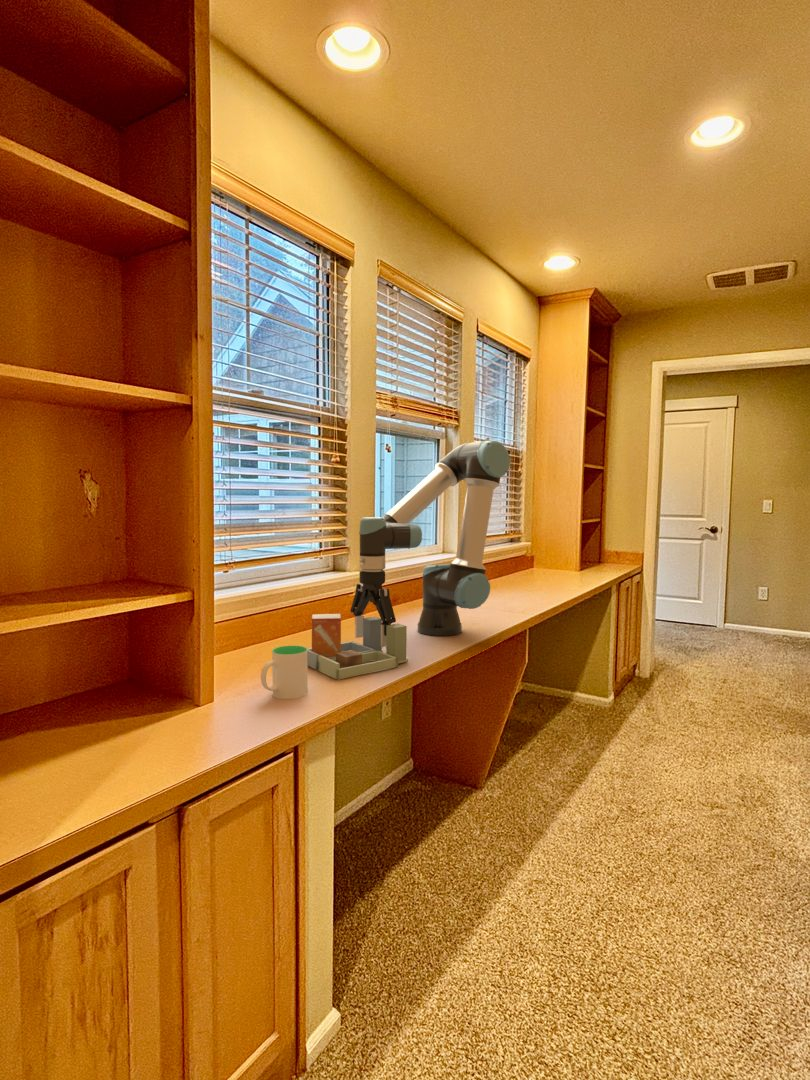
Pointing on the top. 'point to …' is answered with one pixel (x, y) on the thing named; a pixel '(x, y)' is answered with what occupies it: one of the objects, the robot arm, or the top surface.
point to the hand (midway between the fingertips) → (372, 641)
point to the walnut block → (348, 658)
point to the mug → (287, 672)
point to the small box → (326, 634)
